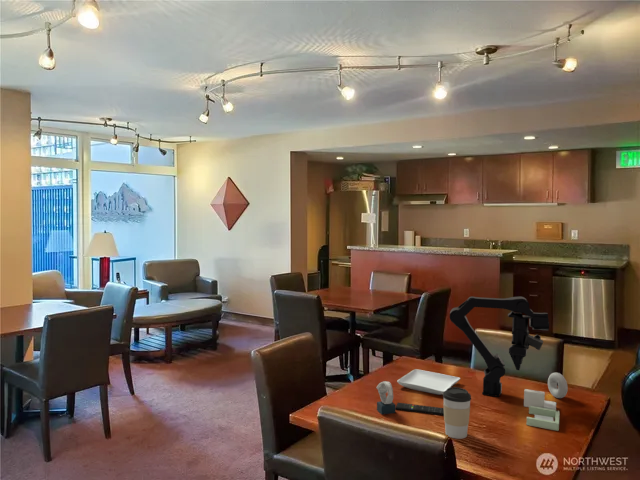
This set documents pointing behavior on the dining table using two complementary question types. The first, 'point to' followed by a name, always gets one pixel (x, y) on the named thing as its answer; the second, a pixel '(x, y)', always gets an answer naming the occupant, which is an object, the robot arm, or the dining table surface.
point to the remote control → (420, 408)
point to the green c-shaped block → (541, 422)
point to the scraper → (537, 400)
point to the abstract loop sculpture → (386, 403)
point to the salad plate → (428, 381)
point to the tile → (544, 417)
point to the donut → (562, 385)
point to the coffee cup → (456, 412)
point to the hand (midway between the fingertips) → (519, 366)
